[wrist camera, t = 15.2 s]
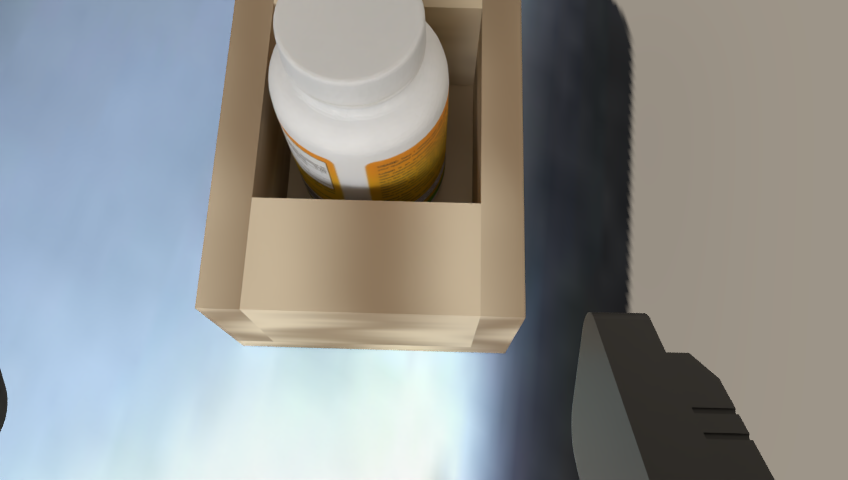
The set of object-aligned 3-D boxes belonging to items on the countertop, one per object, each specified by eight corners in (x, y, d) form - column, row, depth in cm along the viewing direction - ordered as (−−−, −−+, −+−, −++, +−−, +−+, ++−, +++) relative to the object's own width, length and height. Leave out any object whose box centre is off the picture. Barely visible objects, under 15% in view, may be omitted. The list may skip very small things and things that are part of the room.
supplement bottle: (451, 112, 29) (462, -61, 20) (437, 242, 27) (442, 117, 18) (316, 100, 29) (264, -78, 20) (293, 227, 28) (226, 97, 18)
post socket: (243, 345, 27) (195, 308, 22) (278, 20, 32) (245, -82, 26) (504, 353, 27) (525, 317, 21) (503, 25, 32) (519, -76, 26)
